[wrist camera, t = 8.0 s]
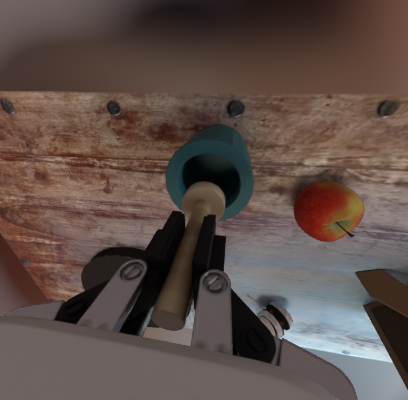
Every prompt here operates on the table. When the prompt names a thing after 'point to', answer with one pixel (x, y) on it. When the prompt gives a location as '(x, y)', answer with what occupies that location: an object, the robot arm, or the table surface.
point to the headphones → (275, 318)
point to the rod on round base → (186, 256)
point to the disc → (111, 268)
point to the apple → (328, 210)
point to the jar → (213, 167)
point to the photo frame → (389, 315)
